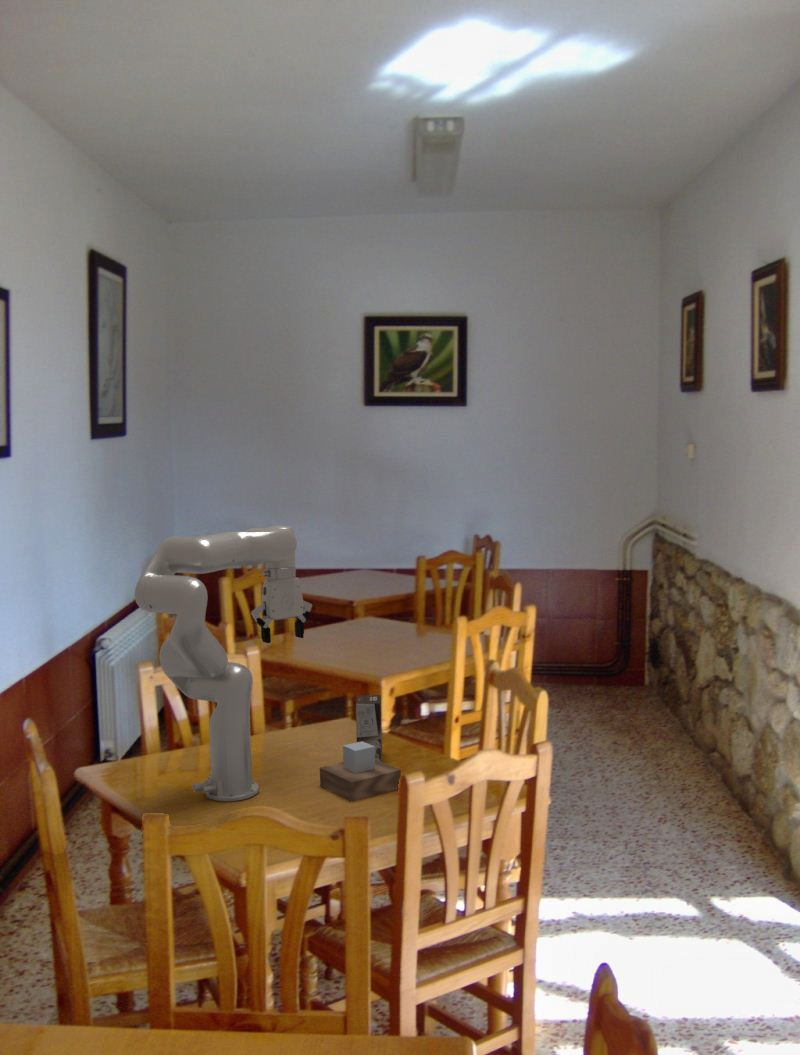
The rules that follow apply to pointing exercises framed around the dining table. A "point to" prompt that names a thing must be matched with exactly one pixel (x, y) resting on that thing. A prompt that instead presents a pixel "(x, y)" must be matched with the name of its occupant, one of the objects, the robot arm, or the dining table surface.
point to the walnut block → (359, 780)
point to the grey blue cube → (359, 757)
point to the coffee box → (369, 722)
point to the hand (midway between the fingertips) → (283, 639)
